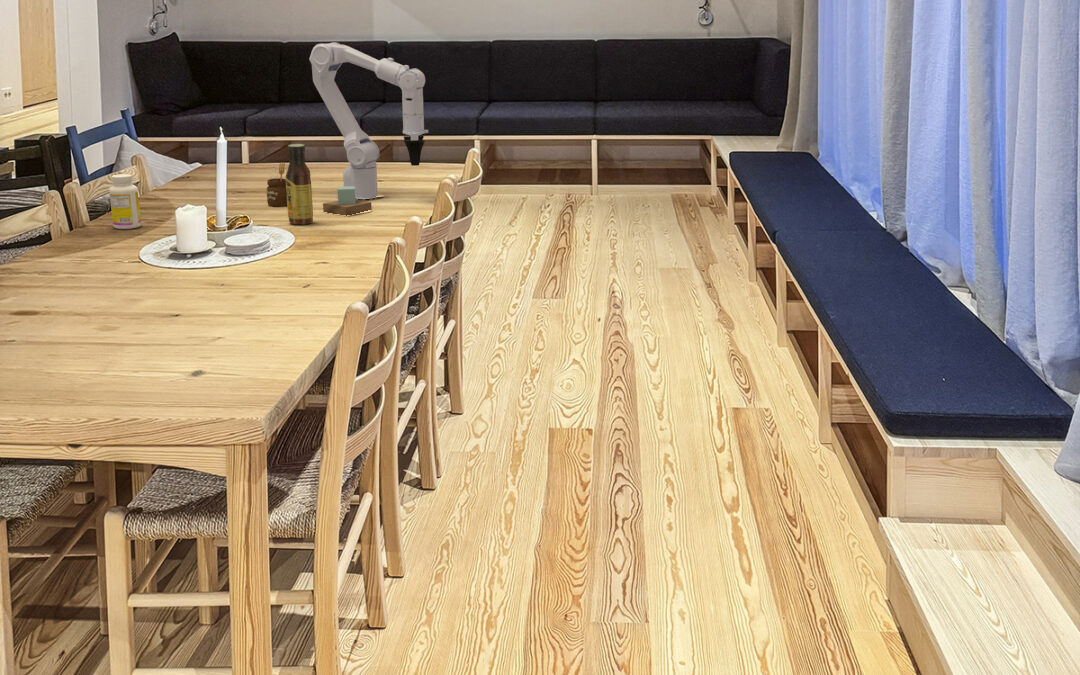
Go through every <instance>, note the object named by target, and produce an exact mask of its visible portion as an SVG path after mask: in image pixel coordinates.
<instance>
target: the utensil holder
mask: <svg viewBox="0 0 1080 675" xmlns="http://www.w3.org/2000/svg"><path fill="white" fill-rule="evenodd" d="M285 164H286V163H285V162H280V163H279V168H278V167H277V165H275V164H271V165H269V166H268V167H269V168H268V173H269V175H270V176H271V175H272V174H273V173H274V172H276V177H275V176H274V175H272V176H271V178H269V179H268V180H267V188H266V200H267V201H266V202H267V205H268V206H269V207H272V208H273V207H274V208H280V207H281V208H283V207H286V206H287V193H286V178H283V174H285ZM271 166H275V167H276V168H274V169H273V170H271ZM277 169H278V171H277ZM273 171H274V172H273ZM279 175H280V176H279ZM278 176H279V177H280V178H279V177H278ZM274 177H275V178H274Z"/></svg>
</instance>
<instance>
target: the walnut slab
mask: <svg viewBox="0 0 1080 675" xmlns="http://www.w3.org/2000/svg"><path fill="white" fill-rule="evenodd" d="M355 200H356V204H341V205H338V200H333V201H329V202H323V203H322V206H323V213H324V212H327V213H326V214H329V213H333V214H332V215H334V214H340V215H346V216H347V215H352V214H356V213H360V212H364V211H368V210H372V211H373V209H372V207H373V206H372V201H367V200H358V199H355ZM340 215H339V216H340ZM346 216H345V217H346Z"/></svg>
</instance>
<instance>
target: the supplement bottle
mask: <svg viewBox="0 0 1080 675" xmlns="http://www.w3.org/2000/svg"><path fill="white" fill-rule="evenodd" d="M111 182H112V183H113V185H112V186H110V187H109V189H108V192H109V193H108V194H109V201H110V208H111V210H110V211H111V218H112V226H113V227H114V229H118V230H131V229H136V228H139V227H141V225H142V218H141V208H140V201H139V189H138V187H137V186H136V185H135V184H133V183H132V182H133V175H132V174H127V173H124V174H114V175H111Z"/></svg>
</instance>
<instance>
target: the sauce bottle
mask: <svg viewBox="0 0 1080 675" xmlns="http://www.w3.org/2000/svg"><path fill="white" fill-rule="evenodd" d="M305 147H306V146H305V144H304V143H303V144H302V143H292V144H288V146H287V150H288V154H289V164H288V168H287V170H286V174H285V179H286V193H287V217H288V222H289V223H290V224H291V225H296V226H297V225H300V226H301V225H302V226H303V225H309V224H312V223H313V221H314V208H313V207H314V206H313V191H312V190H313V189H312V181H311V170H310V168H309V167H308V165H307V164H306V159H305V152H306V148H305Z"/></svg>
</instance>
